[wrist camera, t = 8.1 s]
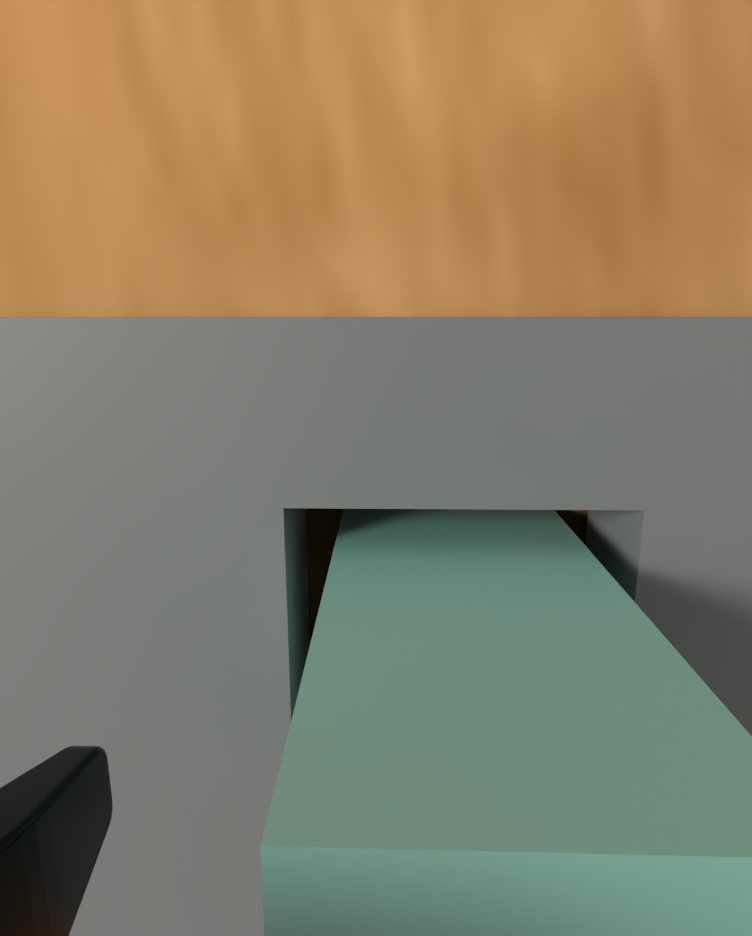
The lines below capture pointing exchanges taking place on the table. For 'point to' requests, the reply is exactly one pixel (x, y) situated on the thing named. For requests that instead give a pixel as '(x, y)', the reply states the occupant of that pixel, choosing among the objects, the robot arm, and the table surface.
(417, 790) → the square peg
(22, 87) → the table surface
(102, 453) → the plate
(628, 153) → the table surface
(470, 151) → the table surface
